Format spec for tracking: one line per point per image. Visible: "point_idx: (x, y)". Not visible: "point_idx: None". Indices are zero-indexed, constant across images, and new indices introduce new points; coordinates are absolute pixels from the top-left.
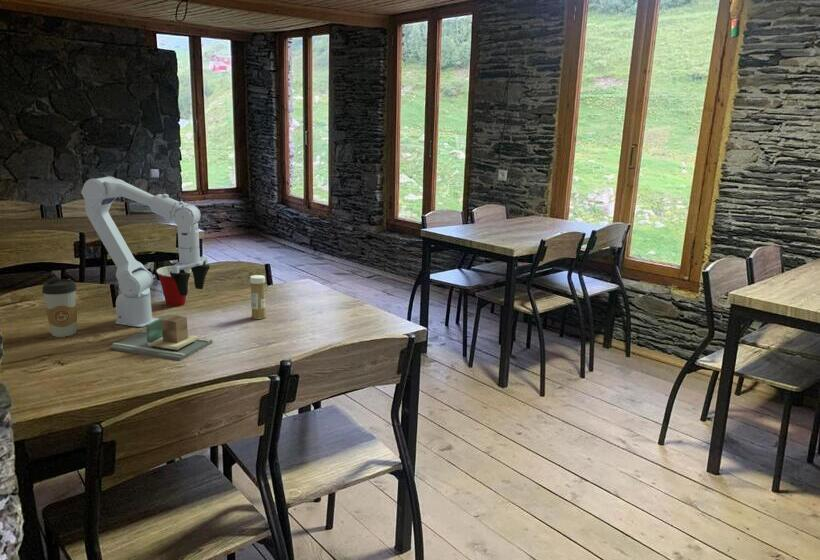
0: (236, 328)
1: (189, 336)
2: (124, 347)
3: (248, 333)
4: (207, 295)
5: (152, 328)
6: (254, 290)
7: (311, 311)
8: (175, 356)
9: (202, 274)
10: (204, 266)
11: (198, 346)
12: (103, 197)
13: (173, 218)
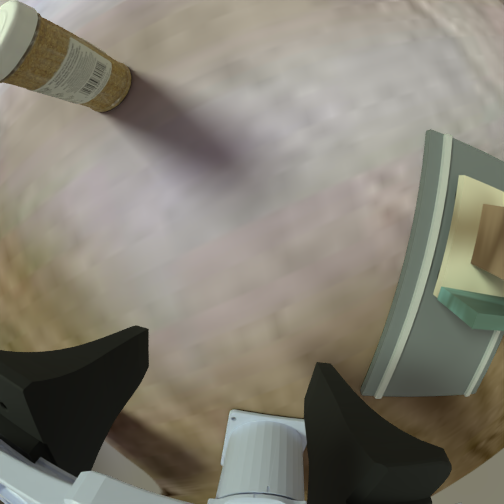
0: (250, 98)
1: (471, 204)
2: (488, 359)
3: (296, 39)
4: (9, 344)
5: None
6: (57, 46)
7: (55, 3)
8: None
9: (84, 379)
10: (25, 407)
11: (484, 158)
12: None
13: None
